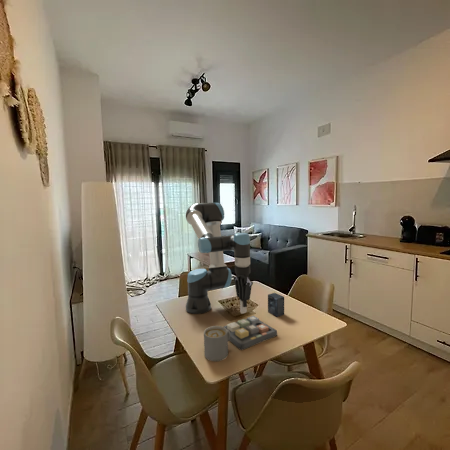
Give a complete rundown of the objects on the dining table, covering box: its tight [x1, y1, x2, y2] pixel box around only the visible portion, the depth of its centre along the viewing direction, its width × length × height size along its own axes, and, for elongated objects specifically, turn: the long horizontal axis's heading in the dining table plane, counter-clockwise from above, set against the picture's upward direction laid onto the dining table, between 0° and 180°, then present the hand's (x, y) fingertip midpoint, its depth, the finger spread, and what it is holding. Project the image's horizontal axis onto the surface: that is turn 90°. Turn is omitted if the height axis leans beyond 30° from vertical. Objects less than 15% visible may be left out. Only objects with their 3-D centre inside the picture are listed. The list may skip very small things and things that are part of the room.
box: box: [267, 292, 285, 318], centre depth 146 cm, size 8×6×11 cm
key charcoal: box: [246, 324, 259, 335], centre depth 122 cm, size 4×4×2 cm
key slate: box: [246, 315, 260, 325], centre depth 131 cm, size 4×4×2 cm
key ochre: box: [235, 328, 249, 339], centre depth 118 cm, size 4×4×2 cm
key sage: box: [236, 318, 250, 328], centre depth 127 cm, size 4×4×2 cm
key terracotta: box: [257, 324, 269, 334], centre depth 125 cm, size 4×4×2 cm
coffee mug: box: [203, 325, 230, 362], centre depth 110 cm, size 13×10×10 cm
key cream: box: [226, 321, 240, 332], centre depth 124 cm, size 4×4×2 cm
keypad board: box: [223, 318, 278, 351], centre depth 125 cm, size 18×21×3 cm
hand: (243, 312), depth 127 cm, fingers closed
